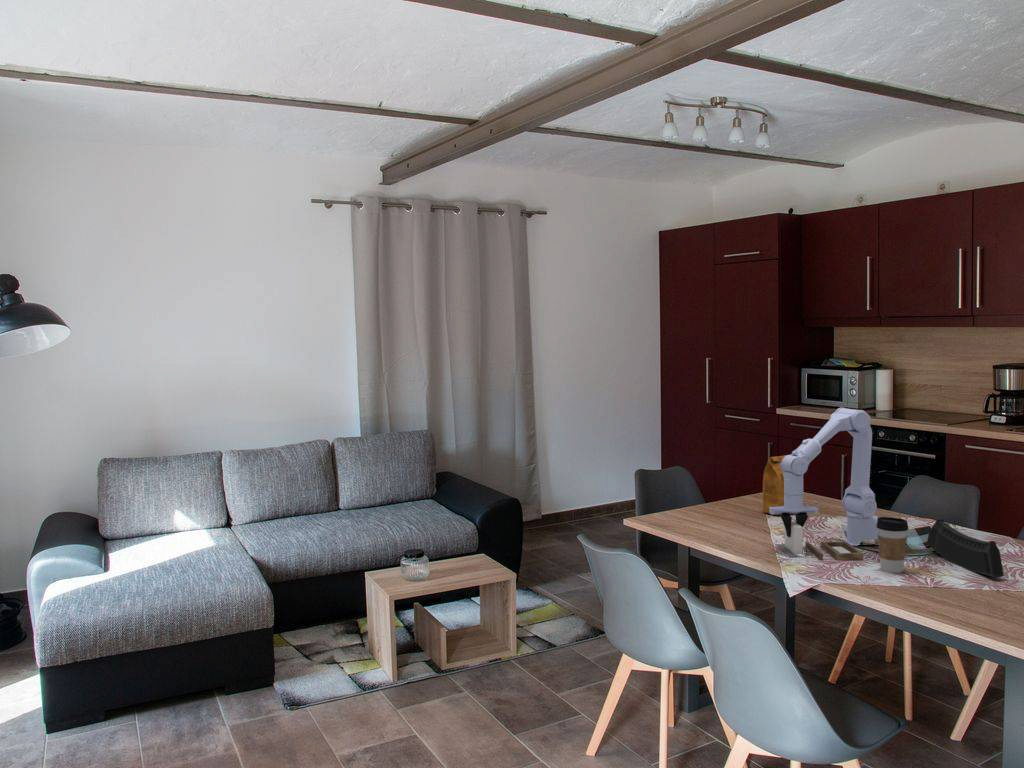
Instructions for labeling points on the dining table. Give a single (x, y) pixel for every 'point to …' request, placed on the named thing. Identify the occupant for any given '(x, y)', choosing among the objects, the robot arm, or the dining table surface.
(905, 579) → the dining table surface
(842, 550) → the offcut upper
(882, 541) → the coffee cup
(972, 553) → the magazine
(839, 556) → the brown wooden frame
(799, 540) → the white rectangular block
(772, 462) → the coffee package
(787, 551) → the mat
